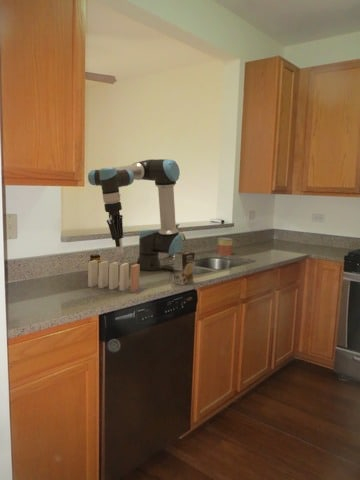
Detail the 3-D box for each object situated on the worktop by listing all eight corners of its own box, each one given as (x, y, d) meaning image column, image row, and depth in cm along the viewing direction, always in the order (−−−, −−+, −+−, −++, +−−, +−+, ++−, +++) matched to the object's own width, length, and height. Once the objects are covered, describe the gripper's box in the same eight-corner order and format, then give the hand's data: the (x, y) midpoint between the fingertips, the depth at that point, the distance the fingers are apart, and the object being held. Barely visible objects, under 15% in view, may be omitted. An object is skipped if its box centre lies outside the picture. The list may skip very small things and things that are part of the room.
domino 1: (88, 286, 189) (88, 261, 188) (94, 283, 195) (94, 259, 194) (91, 287, 189) (91, 262, 187) (97, 284, 195) (97, 260, 193)
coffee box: (182, 285, 200) (183, 254, 198) (173, 283, 204) (174, 252, 202) (193, 282, 207) (194, 252, 205) (184, 280, 211) (185, 250, 209)
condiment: (101, 278, 209) (101, 256, 208) (85, 278, 208) (85, 256, 206) (101, 275, 217) (101, 253, 215) (85, 275, 215) (85, 253, 213)
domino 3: (108, 289, 186) (109, 264, 185) (114, 286, 192) (114, 261, 190) (112, 289, 186) (112, 264, 184) (117, 286, 191) (118, 262, 190)
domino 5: (130, 291, 183) (130, 266, 181) (135, 288, 189) (136, 263, 187) (133, 292, 183) (134, 266, 181) (139, 289, 188) (139, 264, 187)
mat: (91, 283, 199) (91, 281, 199) (147, 289, 190) (147, 288, 190) (80, 288, 189) (80, 286, 188) (138, 295, 180) (138, 294, 180)
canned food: (233, 254, 303) (234, 238, 302) (230, 256, 293) (231, 240, 291) (218, 252, 307) (219, 237, 305) (215, 255, 296) (216, 239, 295)
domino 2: (98, 287, 188) (98, 263, 186) (104, 285, 194) (104, 260, 192) (101, 288, 187) (101, 263, 186) (107, 285, 193) (108, 261, 191)
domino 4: (119, 290, 185) (119, 265, 183) (124, 287, 190) (125, 262, 189) (122, 290, 184) (123, 265, 183) (128, 287, 190) (128, 263, 188)
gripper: (114, 203, 171) (122, 256, 176) (125, 199, 184) (132, 248, 189) (98, 205, 173) (107, 257, 178) (110, 200, 186) (118, 249, 191)
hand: (120, 252), depth 184 cm, fingers closed
